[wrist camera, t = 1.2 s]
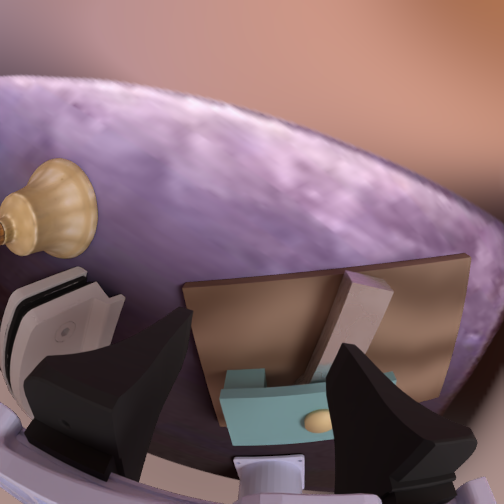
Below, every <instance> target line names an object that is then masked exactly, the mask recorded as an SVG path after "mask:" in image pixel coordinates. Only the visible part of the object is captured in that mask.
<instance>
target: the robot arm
mask: <svg viewBox="0 0 504 504" xmlns="http://www.w3.org/2000/svg"><path fill="white" fill-rule="evenodd" d="M192 317H193V310H189V309H186V308H182V307H178V308H176V309H175V310H174V311H172V312H171V313H169V314H168V315H167V316H165V317H164V318H162V319H161V320H159V321H158V322H156V323H155V324H153V325H152V326H150V327H148V328H147V329H145V330H143V331H141V332H139V333H138V334H136V335H134V336H132V337H130V338H128V339H125V340H123V341H120V342H118V343H115V344H112V345H109V346H106V347H102V348H99V349H95V350H91V351H86V352H81V353H74V354H65V355H48V356H46V357H45V358H44V359H43V360H42V361H41V362H40V363H39V364H38V365H37V366H36V367H35V368H34V369H33V371H32V372H31V373H30V374H29V375H28V376H27V378H26V379H25V380H24V384H23V388H24V392H25V396H26V398H27V401H28V403H29V406H30V408H31V411H32V413H33V416H34V419H33V420H32V422H31V423H30V425H29V426H28V427H27V429H25V428H23V427H22V424H21V421H20V419H19V417H18V416H17V415H16V414H15V412H14V411H12V410H11V409H10V408H8V407H7V406H6V405H4V404H3V403H1V402H0V487H1V488H2V489H4V490H5V491H6V492H8V493H9V494H11V495H12V496H13V497H15V498H16V499H17V500H19V501H20V502H22V503H23V504H222V503H216V502H211V501H206V500H201V499H197V498H192V497H188V496H184V495H180V494H176V493H172V492H169V491H165V490H162V489H158V488H155V487H152V486H148V485H145V484H142V483H139V480H140V476H141V472H142V468H143V465H144V462H145V458H146V454H147V451H148V448H149V445H150V442H151V438H152V435H153V432H154V429H155V426H156V423H157V420H158V417H159V414H160V412H161V409H162V407H163V405H164V403H165V401H166V399H167V397H168V394H169V392H170V390H171V388H172V386H173V384H174V382H175V380H176V378H177V376H178V374H179V372H180V370H181V367H182V364H183V361H184V358H185V355H186V352H187V349H188V343H189V336H190V329H191V323H192ZM326 397H327V403H328V409H329V414H330V419H331V424H332V430H333V435H334V443H335V493H334V494H302V489H304V455H302V454H297V455H284V456H262V457H234V458H233V462H234V465H235V467H236V470H237V473H238V476H239V479H240V485H239V495H238V500H237V501H236V502H234V503H233V504H497V503H496V500H495V498H494V496H493V493H492V491H491V489H490V486H489V484H488V482H487V479H486V477H481V478H477V479H474V480H471V481H468V482H466V483H465V484H463V485H462V486H460V487H459V488H458V489H457V490H455V488H454V485H453V482H452V481H454V480H455V479H456V475H455V473H454V472H455V471H456V470H457V469H458V468H459V467H460V466H461V465H462V464H463V463H464V462H465V461H466V460H467V459H468V458H469V457H470V456H471V455H472V453H473V452H474V450H475V449H476V446H477V440H476V438H475V436H474V434H473V432H472V430H471V429H470V428H469V427H466V426H463V425H461V424H458V423H455V422H452V421H450V420H448V419H446V418H444V417H442V416H440V415H438V414H436V413H434V412H432V411H431V410H429V409H427V408H426V407H424V406H423V405H421V404H419V403H418V402H416V401H415V400H414V399H412V398H411V397H410V396H408V395H407V394H406V393H405V392H403V391H402V390H401V389H400V388H398V387H397V386H396V385H395V384H394V383H393V382H392V381H391V380H390V379H389V378H388V377H387V376H386V375H385V374H384V373H383V372H382V371H381V370H380V369H379V368H378V367H377V366H376V365H375V364H374V363H373V362H372V361H371V360H370V359H369V358H368V357H367V356H366V355H365V354H364V353H363V352H362V351H361V350H360V349H359V348H358V347H357V346H356V345H355V344H348V343H342V344H341V346H340V348H339V351H338V353H337V355H336V357H335V359H334V361H333V363H332V365H331V367H330V369H329V371H328V374H327V376H326Z"/></svg>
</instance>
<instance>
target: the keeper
mask: <svg viewBox="0 0 504 504" xmlns="http://www.w3.org/2000/svg"><path fill="white" fill-rule="evenodd" d="M384 374H385V375H386V376H387V377H388V378H389V379H390V380H391V381H392V382H393V383H394V384H395V385H396V381H397V379H396V377H395V375H394V373H393V371H391V372H386V373H384ZM219 400H220V403H221V407H222V410H223V414H224V417H225V420H226V424H227V427H228V430H229V434H230V437H231V440H232V443H233V445H276V444H291V443H303V442H313V441H321V440H329V439H334V435H333V430H332V424H331V419H330V414H329V409H328V403H327V397H326V382H322V383H314V384H304V385H294V386H282V387H267V383H266V375H265V368H262V369H243V370H227V373H226V378H225V383H224V388H223V389H221V393H220V397H219Z"/></svg>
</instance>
